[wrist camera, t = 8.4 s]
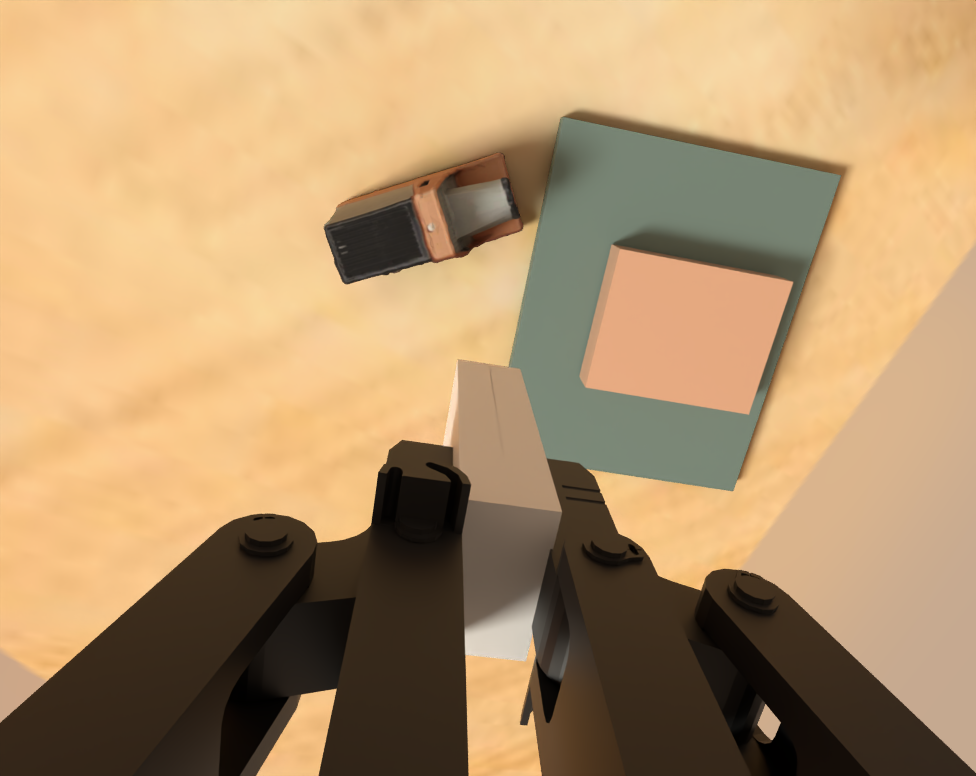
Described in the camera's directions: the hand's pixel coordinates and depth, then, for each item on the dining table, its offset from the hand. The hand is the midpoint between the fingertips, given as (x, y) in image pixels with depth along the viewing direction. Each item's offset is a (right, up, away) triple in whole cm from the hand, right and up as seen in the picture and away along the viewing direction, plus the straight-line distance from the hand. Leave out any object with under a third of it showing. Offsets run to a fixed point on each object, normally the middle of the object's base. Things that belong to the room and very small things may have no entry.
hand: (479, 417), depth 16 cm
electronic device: (-3, +11, +22) cm, 25 cm away
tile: (+6, +5, +22) cm, 24 cm away
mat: (+10, +5, +25) cm, 27 cm away
